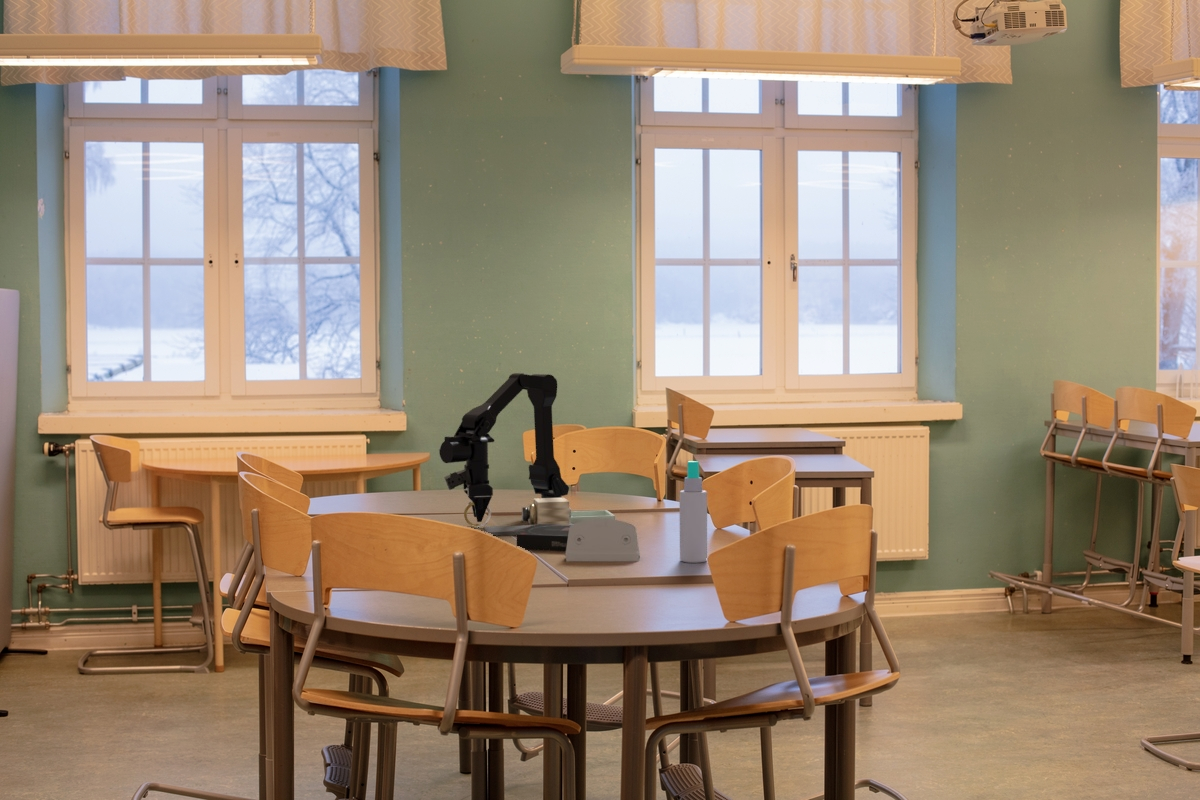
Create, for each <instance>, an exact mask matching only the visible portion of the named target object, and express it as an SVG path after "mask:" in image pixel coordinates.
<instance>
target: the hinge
mask: <svg viewBox="0 0 1200 800" xmlns="http://www.w3.org/2000/svg"><path fill="white" fill-rule="evenodd" d="M564 557H565V562H639V560H640V558H639V557H641V553H640V546H639V538H638V532H637V528H636V526H635V524H632V523H630V522H627V521H624V520H620V519H619V520H618V519H615V520H613V519H592V520H586V521H582V522H579V523H576V524H573V525H571V527H570V528H569V534H568V541H567V547H566V551H565V555H564Z"/></svg>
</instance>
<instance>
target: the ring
mask: <svg viewBox="0 0 1200 800" xmlns="http://www.w3.org/2000/svg"><path fill="white" fill-rule="evenodd" d="M469 500H470V501H469V502H468V503H467V504H466V506H465V508H464V512H463V515H464V519H465V521H466V523H467V524H468V525H470V526H471V527H473V526H472V525H474V526H476V527H475V528H477V529H478V527H479V528H482V527H485V526H486V525H487V524H488V522H489V521H490V519H491V516H492V510H491V508H490V505H489V504H488V507H487V509H486V511H487V513H488V515H487V517H486V520H485V521H484V522H482V523H479V522H477V523H473V522H471V521H470V520H469V518H468V510H469V509H470V508H472V506H473V505H474V502H473V501H472V500H471V499H469Z"/></svg>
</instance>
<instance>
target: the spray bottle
mask: <svg viewBox="0 0 1200 800" xmlns="http://www.w3.org/2000/svg"><path fill="white" fill-rule="evenodd" d="M686 473H687V476H686V477H684V479H683V480H684V483H683V487H684V488H683V490H680V491H679V560H680V561H681V562H683V563H689V564H699V563H705V562H706V561H707V560H706V558H707V559H708V491H707V490H703V489H704V488H703V477H701V476H700V463H699V461H698V460H697V461H696V460H688V461H687V471H686Z"/></svg>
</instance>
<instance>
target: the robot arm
mask: <svg viewBox="0 0 1200 800" xmlns="http://www.w3.org/2000/svg"><path fill="white" fill-rule="evenodd" d="M523 390H525V391H527V398H528V400H529V401H530V402H531V404H532V406H533V415H534V416H533V419H534V420H533V421H534V437H535V438H534V441H535V444H534V445H535V459H534V461H533V463H532V464H529V465H528V471H529V472H528V473H529V475H528V480H530V484H531V486H533V490H534V493H535V494H536V495H540V498H563V497H565V496H568V494H569V491H570V487H569V486H568V484H567V483H566V482H565V481H564V479H563V478H562V474H561V473H562V472H561V468H560V465H559V464H558V462H557V460H556V459H555V452H554V448H555V447H554V431H553V407H552V406H553V404H554V402H555V400H556V398H557V396H558V395H557V393H558V380H557V378H556V377H555V376H554V375H552V374H549V373H548V374H547V373H546V374H545V373H543V374H542V373H541V374H540V373H539V374H537V373H535V374H533V373H532V374H527V373H524V372H514V373H511V374H510V375H509V377H508V379H507V380H506V381H505V382H503V384H501V386H499V388H497V390H496V391H494V393H493V394H492V395H491V396H489V398H488V399H487V400H486V401H485V402H483V403H482V404H480V405H478V406H476V407H473V408H472V409H471V410H469V411H467V412H466V413H464V415H463V416H462V418H461V423H460V425H459V426H458V428H457V429H456V431H455V433H454V435H453V436H444V441H443V442H442V443H441V445H440V448H439V449H438V451H439V457H440V460H441V461H442V462H443V463H445V464H451V463H463V462H465V464H463V465H464V467H463V468H464V469H462V470H459V471H454V472H452V473H449V475H446V476H444V478H443V479H444V482H445V483H446V486H447V489H448V490H450V491H451V490H453V489H455V488H457V487H459V486H462V489H463V492H464V493H465V494H466V495H467V497H468V499H469V500H470V499H471V500H472V501H473V502H474V505H473V506H471V509H472V513H473V517H474V518H476V522H477V523H481V522H482V521H483V519H484V516H485V514H486V511H487V507H488V505H489V504H490V501H491V500H492V497H493V495H494V489H493V487H492V486H491V484H490V479H489V469H490V464H489V447H488V446H489V443H495V439H494V438H493V437H492V436H491V435H490V434H489V433H490V432H491V430H492V428H493V427H494V426H495V425H496V422H497V417H498V416H499V415H500V414H501V412H502V411H503V410H504V409H505V408H506V407H507V406H508V405H509V404H510V403H511V402H512V401H513V400H514V399H515V398H517V396H518V395H519V394H520V393H521V392H522V391H523ZM471 500H470V501H471ZM482 523H483V522H482Z"/></svg>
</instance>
